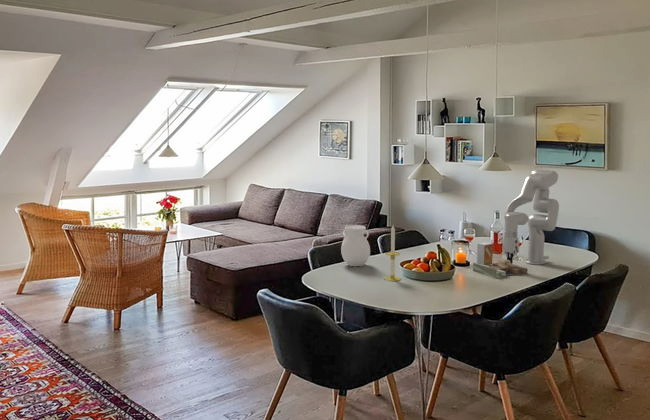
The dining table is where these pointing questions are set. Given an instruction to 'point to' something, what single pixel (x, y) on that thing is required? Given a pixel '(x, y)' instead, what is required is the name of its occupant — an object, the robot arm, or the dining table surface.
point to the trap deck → (499, 270)
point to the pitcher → (355, 245)
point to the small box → (484, 253)
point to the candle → (392, 257)
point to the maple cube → (504, 263)
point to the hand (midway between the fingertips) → (509, 263)
